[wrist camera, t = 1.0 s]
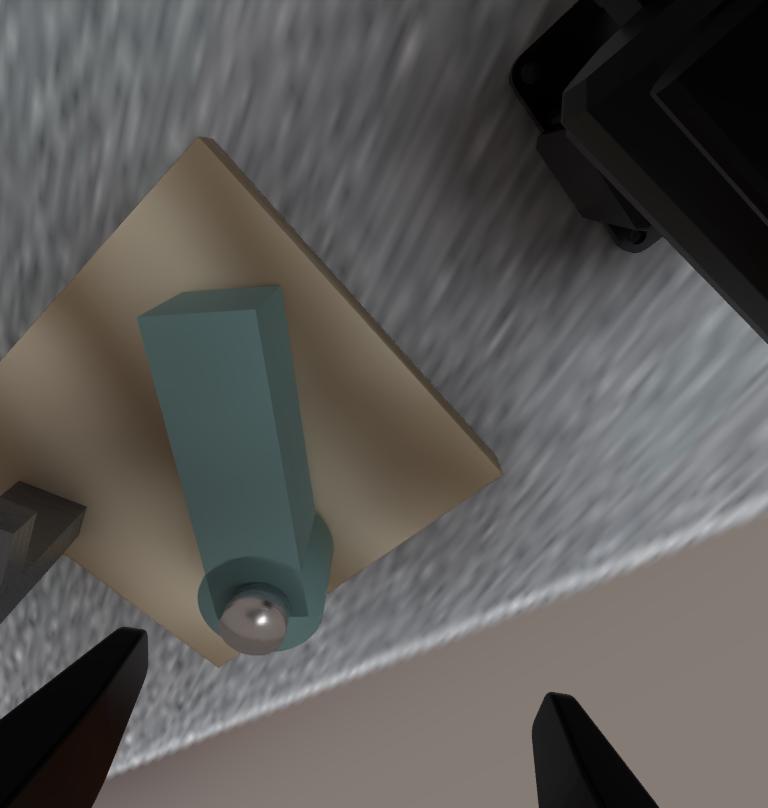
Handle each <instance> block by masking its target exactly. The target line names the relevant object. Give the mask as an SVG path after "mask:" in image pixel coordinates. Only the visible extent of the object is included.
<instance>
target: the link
mask: <svg viewBox="0 0 768 808" xmlns="http://www.w3.org/2000/svg"><path fill="white" fill-rule="evenodd" d="M137 321H138V325H139V328H140V332H141V336H142V340H143V343H144V347H145V351H146V355H147V358H148V362H149V366H150V370H151V373H152V377H153V381H154V385H155V388H156V392H157V396H158V400H159V403H160V407H161V411H162V415H163V418H164V422H165V426H166V430H167V433H168V437H169V441H170V444H171V448H172V452H173V456H174V459H175V463H176V467H177V471H178V474H179V478H180V482H181V486H182V489H183V493H184V497H185V501H186V504H187V508H188V512H189V516H190V519H191V523H192V527H193V531H194V534H195V538H196V542H197V546H198V549H199V553H200V557H201V561H202V564H203V568H204V572H205V575H204V577H203V580H202V582H201V584H200V586H199V589H198V596H197V597H198V606H199V610H200V613H201V615H202V617H203V619H204V621H205V622H206V623H207V625H208V626H209V627H210V628H211V629H212V630H213V631H214V632H215V633H216V634H217V635H219V636H220V637H221V638H222V639H223V640H224V642H225V643H226V644H227V645H228V646H230V647H231V648H233V649H234V650H236V651H238V652H241V653H244V654H248V655H265V654H269V653H271V652H274V651H282V650H286V649H290V648H293V647H295V646H298V645H300V644H301V643H303V642H305V641H306V640H307V639H309V638H310V637H311V636H312V635H313V634H314V633H315V631H316V630H317V628H318V627H319V625H320V622H321V619H322V615H323V609H324V603H325V598H326V592H327V587H328V581H329V575H330V570H331V564H332V559H333V552H334V543H333V538H332V535H331V533H330V531H329V529H328V527H327V525H326V524H325V523H324V522H323V520H322V519H321V518H320V517H319V516H318V515H316V513H315V506H314V500H313V493H312V486H311V480H310V473H309V466H308V460H307V453H306V446H305V440H304V433H303V427H302V420H301V413H300V407H299V400H298V393H297V387H296V380H295V373H294V367H293V360H292V353H291V347H290V340H289V334H288V327H287V320H286V314H285V307H284V300H283V294H282V287H281V285H278V286H263V287H249V288H234V289H219V290H205V291H190V292H182V293H180V294H178V295H176V296H174V297H173V298H171V299H169V300H167V301H165V302H163V303H162V304H160V305H158V306H156V307H154V308H152V309H151V310H149V311H147V312H145V313H143V314H141V315H140V316H138V317H137Z"/></svg>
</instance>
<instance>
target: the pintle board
mask: <svg viewBox="0 0 768 808" xmlns="http://www.w3.org/2000/svg"><path fill="white" fill-rule="evenodd" d="M278 285H281V287H282V294H283V300H284V307H285V314H286V320H287V327H288V334H289V340H290V347H291V353H292V360H293V367H294V373H295V380H296V387H297V393H298V400H299V407H300V413H301V420H302V427H303V433H304V440H305V446H306V453H307V460H308V466H309V473H310V480H311V486H312V493H313V500H314V506H315V513H316V515H318V516H319V517H320V518H321V519H322V520H323V522H324V523H325V524H326V525H327V527H328V529H329V531H330V533H331V535H332V538H333V543H334V552H333V559H332V564H331V570H330V575H329V581H328V587H327V592H326V594H328V593H329V592H331V591H332V590H333V589H335V588H336V587H338V586H339V585H341V584H342V583H344V582H345V581H347V580H348V579H350V578H351V577H353V576H354V575H356V574H357V573H359V572H360V571H361V570H363V569H364V568H366V567H367V566H369V565H370V564H372V563H373V562H375V561H376V560H378V559H379V558H381V557H382V556H384V555H385V554H387V553H388V552H389V551H391V550H392V549H394V548H395V547H397V546H398V545H400V544H401V543H403V542H404V541H406V540H407V539H409V538H410V537H412V536H413V535H415V534H416V533H417V532H419V531H420V530H422V529H423V528H425V527H426V526H428V525H429V524H431V523H432V522H434V521H435V520H437V519H438V518H440V517H441V516H443V515H444V514H445V513H447V512H448V511H450V510H451V509H453V508H454V507H456V506H457V505H459V504H460V503H462V502H463V501H465V500H466V499H468V498H469V497H471V496H472V495H473V494H475V493H476V492H478V491H479V490H481V489H482V488H484V487H485V486H487V485H488V484H490V483H491V482H493V481H494V480H496V479H497V478H499V477H500V476H501V475H503V473H502V470H501V467H500V464H499V461H498V458H497V457H496V456H495V454H494V453H493V452H492V451H491V450H490V449H489V448H488V447H487V445H486V444H485V443H484V442H483V441H482V440H481V439H480V438H479V437H478V435H477V434H476V433H475V432H474V431H473V430H472V429H471V428H470V426H469V425H468V424H467V423H466V422H465V421H464V420H463V419H462V418H461V416H460V415H459V414H458V413H457V412H456V411H455V410H454V409H453V407H452V406H451V405H450V404H449V403H448V402H447V401H446V400H445V398H444V397H443V396H442V395H441V394H440V393H439V392H438V391H437V390H436V388H435V387H434V386H433V385H432V384H431V383H430V382H429V381H428V379H427V378H426V377H425V376H424V375H423V374H422V373H421V372H420V370H419V369H418V368H417V367H416V366H415V365H414V364H413V363H412V362H411V360H410V359H409V358H408V357H407V356H406V355H405V354H404V353H403V351H402V350H401V349H400V348H399V347H398V346H397V345H396V344H395V342H394V341H393V340H392V339H391V338H390V337H389V336H388V335H387V334H386V332H385V331H384V330H383V329H382V328H381V327H380V326H379V325H378V323H377V322H376V321H375V320H374V319H373V318H372V317H371V316H370V315H369V313H368V312H367V311H366V310H365V309H364V308H363V307H362V306H361V304H360V303H359V302H358V301H357V300H356V299H355V298H354V297H353V295H352V294H351V293H350V292H349V291H348V290H347V289H346V288H345V287H344V285H343V284H342V283H341V282H340V281H339V280H338V279H337V278H336V276H335V275H334V274H333V273H332V272H331V271H330V270H329V269H328V267H327V266H326V265H325V264H324V263H323V262H322V261H321V260H320V259H319V257H318V256H317V255H316V254H315V253H314V252H313V251H312V250H311V248H310V247H309V246H308V245H307V244H306V243H305V242H304V241H303V240H302V238H301V237H300V236H299V235H298V234H297V233H296V232H295V231H294V229H293V228H292V227H291V226H290V225H289V224H288V223H287V222H286V220H285V219H284V218H283V217H282V216H281V215H280V214H279V213H278V212H277V210H276V209H275V208H274V207H273V206H272V205H271V204H270V203H269V201H268V200H267V199H266V198H265V197H264V196H263V195H262V194H261V192H260V191H259V190H258V189H257V188H256V187H255V186H254V185H253V184H252V182H251V181H250V180H249V179H248V178H247V177H246V176H245V175H244V173H243V172H242V171H241V170H240V169H239V168H238V167H237V166H236V164H235V163H234V162H233V161H232V160H231V159H230V158H229V157H228V156H227V154H226V153H225V152H224V151H223V150H222V149H221V148H220V147H219V145H218V144H217V143H216V142H215V141H214V140H213V139H210V138H205V137H199V136H198V137H197V138H196V139H195V141H194V142H193V143H192V144H191V145H190V146H189V147H188V149H187V150H186V151H185V152H184V153H183V154H182V155H181V156H180V158H179V159H178V160H177V161H176V162H175V163H174V164H173V166H172V167H171V168H170V169H169V170H168V171H167V172H166V174H165V175H164V176H163V177H162V178H161V179H160V180H159V181H158V183H157V184H156V185H155V186H154V187H153V188H152V189H151V191H150V192H149V193H148V194H147V195H146V196H145V197H144V199H143V200H142V201H141V202H140V203H139V204H138V205H137V206H136V208H135V209H134V210H133V211H132V212H131V213H130V214H129V216H128V217H127V218H126V219H125V220H124V221H123V222H122V223H121V225H120V226H119V227H118V228H117V229H116V230H115V231H114V233H113V234H112V235H111V236H110V237H109V238H108V239H107V241H106V242H105V243H104V244H103V245H102V246H101V247H100V248H99V250H98V251H97V252H96V253H95V254H94V255H93V256H92V258H91V259H90V260H89V261H88V262H87V263H86V264H85V266H84V267H83V268H82V269H81V270H80V271H79V272H78V273H77V275H76V276H75V277H74V278H73V279H72V280H71V281H70V283H69V284H68V285H67V286H66V287H65V288H64V289H63V290H62V292H61V293H60V294H59V295H58V296H57V297H56V298H55V300H54V301H53V302H52V303H51V304H50V305H49V306H48V308H47V309H46V310H45V311H44V312H43V313H42V314H41V315H40V317H39V318H38V319H37V320H36V321H35V322H34V323H33V325H32V326H31V327H30V328H29V329H28V330H27V331H26V333H25V334H24V335H23V336H22V337H21V338H20V339H19V340H18V342H17V343H16V344H15V345H14V346H13V347H12V348H11V350H10V351H9V352H8V353H7V354H6V355H5V356H4V357H3V359H2V360H1V361H0V624H1V623H2V622H3V620H4V619H5V618H6V617H7V616H8V615H9V614H10V613H11V611H12V610H13V609H14V608H15V607H16V606H17V605H18V604H19V602H20V601H21V600H22V599H23V598H24V597H25V596H26V595H27V593H28V592H29V591H30V590H31V589H32V588H33V587H34V586H35V584H36V583H37V582H38V581H39V580H40V579H41V578H42V577H43V575H44V574H45V573H46V572H47V571H48V570H49V569H50V568H51V566H52V565H53V564H54V563H55V562H56V561H57V560H58V559H59V557H60V556H61V555H62V554H63V553H64V554H65V555H67V556H68V557H69V558H71V559H72V560H73V561H75V562H76V563H77V564H79V565H80V566H81V567H83V568H84V569H85V570H87V571H88V572H90V573H91V574H92V575H94V576H95V577H96V578H98V579H99V580H100V581H102V582H103V583H104V584H106V585H107V586H108V587H110V588H111V589H113V590H114V591H115V592H117V593H118V594H119V595H121V596H122V597H123V598H125V599H126V600H127V601H129V602H130V603H131V604H133V605H134V606H136V607H137V608H138V609H140V610H141V611H142V612H144V613H145V614H146V615H148V616H149V617H150V618H152V619H153V620H154V621H156V622H157V623H159V624H160V625H161V626H163V627H164V628H165V629H167V630H168V631H169V632H171V633H172V634H173V635H175V636H176V637H177V638H179V639H180V640H182V641H183V642H184V643H186V644H187V645H188V646H190V647H191V648H192V649H194V650H195V651H196V652H198V653H199V654H200V655H202V656H203V657H204V658H206V659H207V660H209V661H210V662H211V663H213V664H214V665H215V666H217V667H218V668H219V667H220V666H221V665H223V664H224V663H226V662H227V661H229V660H230V659H232V658H233V657H235V656H236V655H238V654H239V653H241V652H238V651H236V650H234V649H233V648H231V647H230V646H228V645H227V644H226V643H225V642H224V640H223V639H222V638H221V637H220V636H219V635H217V634H216V633H215V632H214V631H213V630H212V629H211V628H210V627H209V626H208V625H207V623H206V622H205V621H204V619H203V617H202V615H201V613H200V610H199V606H198V597H197V596H198V589H199V586H200V584H201V582H202V580H203V577H204V575H205V572H204V568H203V564H202V561H201V557H200V553H199V549H198V546H197V542H196V538H195V534H194V531H193V527H192V523H191V519H190V516H189V512H188V508H187V504H186V501H185V497H184V493H183V489H182V486H181V482H180V478H179V474H178V471H177V467H176V463H175V459H174V456H173V452H172V448H171V444H170V441H169V437H168V433H167V430H166V426H165V422H164V418H163V415H162V411H161V407H160V403H159V400H158V396H157V392H156V388H155V385H154V381H153V377H152V373H151V370H150V366H149V362H148V358H147V355H146V351H145V347H144V343H143V340H142V336H141V332H140V328H139V325H138V321H137V317H138V316H140V315H141V314H143V313H145V312H147V311H149V310H151V309H152V308H154V307H156V306H158V305H160V304H162V303H163V302H165V301H167V300H169V299H171V298H173V297H174V296H176V295H178V294H180V293H182V292H190V291H205V290H219V289H234V288H249V287H263V286H278Z"/></svg>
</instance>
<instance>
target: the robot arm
mask: <svg viewBox="0 0 768 808" xmlns="http://www.w3.org/2000/svg"><path fill="white" fill-rule="evenodd" d="M525 65H532V66H533V67H535V69H536V72H537V77H536V80H535V81H534V83H533V84H526V83H525V82H524V81H523V80H522V77H521V71H522V68H523V67H524V66H525ZM509 83H510V85H511V87H512V90H513V91H514V93H515V94H516V96H517V97H518V99H519V100H520V102H521V103H522V104H523V106H524V107H525V109H526V110H527V112H528V113H529V115H530V116H531V118H532V119H533V121H534V122H535V124H536V125H537V127H538V128H539V130H540V131H541V132H542V133H541V134H540V135H539V136H538V140H537V146H536V149H537V151H538V152H539V154H540V155H541V157H542V158H543V160H544V161H545V163H546V164H547V165H548V167H549V168H550V170H551V171H552V173H553V174H554V176H555V177H556V179H557V180H558V181H559V183H560V184H561V186H562V187H563V189H564V190H565V192H566V193H567V195H568V196H569V197H570V199H571V200H572V202H573V203H574V205H575V206H576V208H577V209H578V211H579V212H580V213H581V215H582V216H583V217H584V218H588V219H592V220H596V221H601V222H602V223H603V224H604V225H605V227H606V228H607V230H608V231H609V233H610V234H611V236H612V237H613V239H614V240H615V242H616V243H617V245H618V246H619V247H620V248H621V249H623V250H625V251H628V252H632V253H637V252H641V251H643V250H645V249H647V248H648V247H650V246H651V245H652V244H654V243H655V242H656V241H658V240H659V239H660V238H662V237H664V238H665V239H666V240H667V241H668V242H669V243H670V244H671V245H672V246H673V247H674V248H675V249H676V250H677V251H678V252H679V253H680V254H681V255H682V256H683V258H684V259H685V260H686V261H687V262H688V263H689V264H690V265H691V266H692V267H693V268H694V269H695V270H696V271H697V272H698V273H699V274H700V275H701V276H702V277H703V278H704V279H705V280H706V281H707V282H708V283H709V284H710V285H711V286H712V287H713V288H714V289H715V290H716V291H717V292H718V293H719V295H720V296H721V297H722V298H723V299H724V300H725V301H726V302H727V303H728V304H729V305H730V306H731V307H732V308H733V309H734V310H735V311H736V312H737V313H738V314H739V315H740V316H741V317H742V318H743V319H744V320H745V321H746V322H747V323H748V324H749V325H750V326H751V327H752V328H753V329H754V331H755V332H756V333H757V334H758V335H759V336H760V337H761V338H762V339H763V340H764V341H765V342H766V343H767V344H768V0H579V1H578V2H577V3H576V4H574V5H573V6H572V7H571V8H570V9H569V10H568V11H567V12H566V13H565V14H564V15H563V16H562V17H561V18H560V19H559V20H558V21H557V22H555V23H554V24H553V25H552V26H551V27H550V28H549V29H548V30H547V31H546V32H545V33H544V34H543V35H542V36H541V37H540V38H539V39H538V40H536V41H535V42H534V43H533V44H532V45H531V46H530V47H529V48H528V49H527V50H526V51H525V52H524V53H523V54H522V55H521V56H520V57H519V58H518V59H517V60H516V61H515V62H514V64H513V65H512V67H511V70H510V73H509ZM632 230H641V236H640V238H639V239H638V240H637V241H636V242H634V243H631V242H630V239H629V235H630V232H631V231H632ZM147 669H148V635H147V632H146V631H145V630H143V629H137V628H130V627H121V628H119V629H117V630H116V631H114V632H113V633H112V634H110V635H109V636H108V637H106V638H105V639H104V640H103V641H101V642H100V643H99V644H97V645H96V646H95V647H93V648H92V649H91V650H90V651H88V652H87V653H86V654H84V655H83V656H82V657H81V658H79V659H78V660H77V661H75V662H74V663H73V664H72V665H70V666H69V667H68V668H66V669H65V670H64V671H62V672H61V673H60V674H59V675H57V676H56V677H55V678H53V679H52V680H51V681H50V682H48V683H47V684H46V685H44V686H43V687H42V688H40V689H39V690H38V691H37V692H35V693H34V694H33V695H31V696H30V697H29V698H28V699H26V700H25V701H24V702H22V703H21V704H20V705H18V706H17V707H16V708H15V709H13V710H12V711H11V712H9V713H8V714H7V715H6V716H4V717H3V718H2V719H0V808H92V806H93V804H94V802H95V800H96V798H97V796H98V794H99V792H100V790H101V787H102V785H103V783H104V781H105V779H106V776H107V774H108V771H109V769H110V767H111V764H112V762H113V759H114V756H115V754H116V751H117V749H118V746H119V744H120V741H121V739H122V736H123V734H124V731H125V729H126V726H127V723H128V721H129V718H130V716H131V713H132V711H133V708H134V706H135V703H136V701H137V698H138V695H139V693H140V690H141V688H142V685H143V683H144V680H145V677H146V674H147ZM532 743H533V753H534V763H535V774H536V784H537V794H538V804H539V808H659V807H658V805H657V804H656V803H655V801H654V800H653V799H652V797H651V796H650V795H649V793H648V792H647V791H646V790H645V789H644V787H643V786H642V784H641V783H640V782H639V780H638V779H637V778H636V777H635V775H634V774H633V773H632V771H631V770H630V769H629V767H628V766H627V765H626V764H625V762H624V761H623V760H622V758H621V757H620V756H619V755H618V753H617V752H616V751H615V749H614V748H613V747H612V745H611V744H610V743H609V742H608V740H607V739H606V738H605V736H604V735H603V734H602V733H601V731H600V730H599V729H598V727H597V726H596V725H595V724H594V722H593V721H592V719H591V718H590V717H589V716H588V714H587V713H586V712H585V710H584V709H583V708H582V706H581V705H580V704H579V703H578V701H577V700H576V699H575V698H574V697H573V696H571V695H568V694H562V693H556V692H549V693H547V694H546V695H545V697H544V700H543V702H542V704H541V706H540V708H539V711H538V713H537V715H536V718H535V720H534V723H533V727H532Z"/></svg>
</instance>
